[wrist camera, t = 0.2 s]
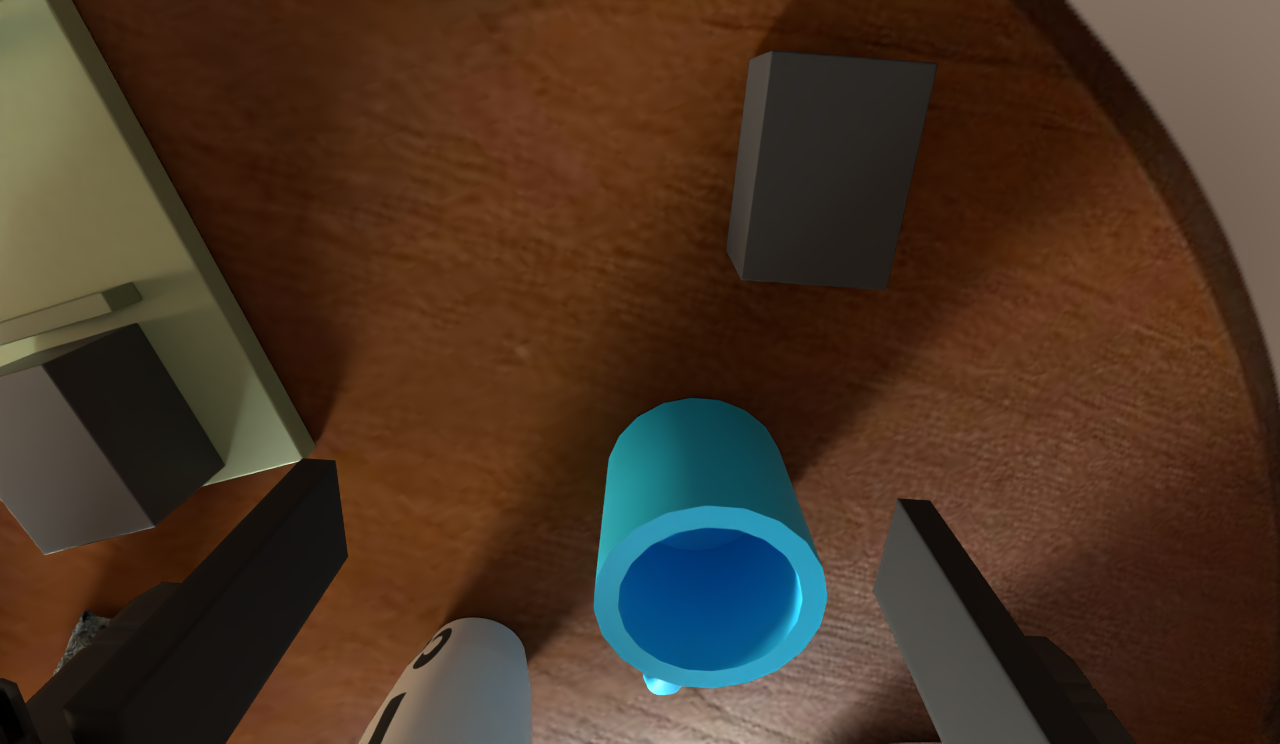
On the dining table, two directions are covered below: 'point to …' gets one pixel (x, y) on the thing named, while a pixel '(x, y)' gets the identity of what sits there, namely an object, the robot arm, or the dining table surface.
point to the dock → (111, 310)
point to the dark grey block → (825, 167)
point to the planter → (919, 743)
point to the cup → (460, 691)
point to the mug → (704, 550)
